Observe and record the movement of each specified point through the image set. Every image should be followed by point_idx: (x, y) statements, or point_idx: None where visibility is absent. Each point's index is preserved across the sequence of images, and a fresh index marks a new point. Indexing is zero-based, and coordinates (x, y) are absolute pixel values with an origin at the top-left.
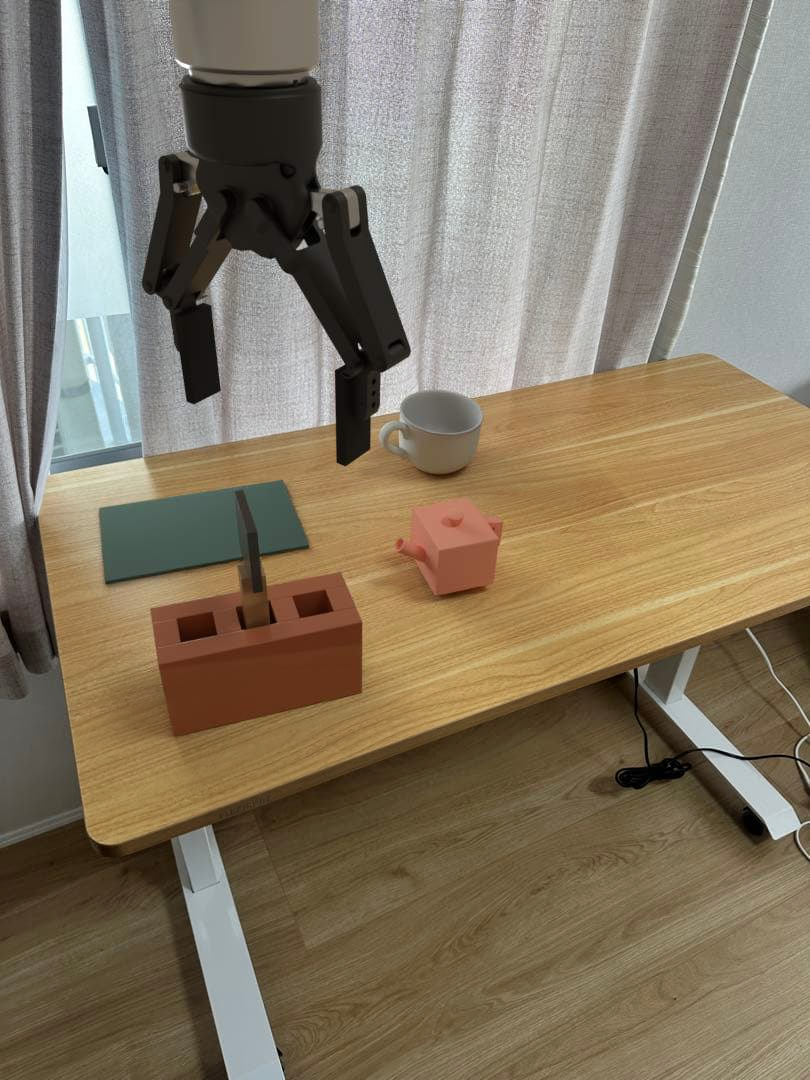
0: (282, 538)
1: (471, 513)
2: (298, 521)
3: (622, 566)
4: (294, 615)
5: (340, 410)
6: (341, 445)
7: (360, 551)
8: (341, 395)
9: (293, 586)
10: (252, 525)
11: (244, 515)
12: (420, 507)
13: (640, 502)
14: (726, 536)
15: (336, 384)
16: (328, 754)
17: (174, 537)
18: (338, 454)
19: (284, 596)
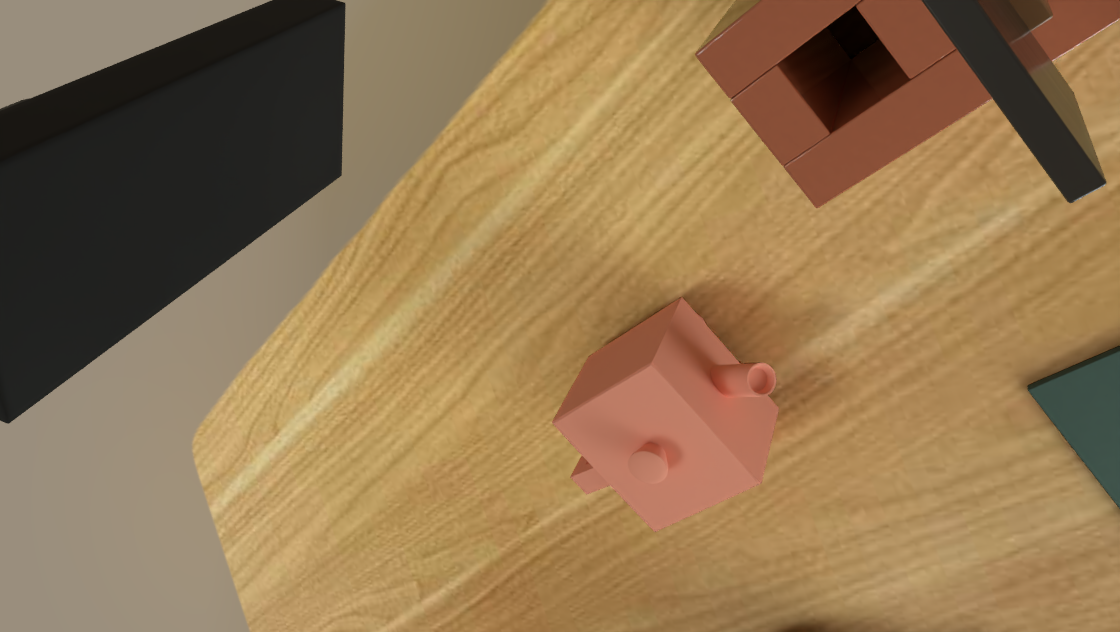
0: (1108, 398)
1: (630, 485)
2: (1085, 460)
3: (416, 450)
4: (873, 10)
5: (127, 83)
6: (254, 18)
7: (897, 397)
8: (42, 111)
9: (920, 116)
10: (939, 5)
11: (997, 52)
12: (742, 487)
13: (442, 600)
14: (307, 540)
15: (26, 146)
16: None
17: None
18: (305, 10)
19: (930, 70)
